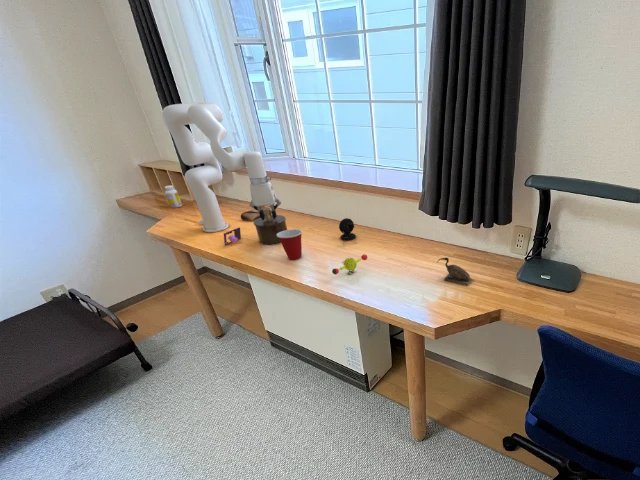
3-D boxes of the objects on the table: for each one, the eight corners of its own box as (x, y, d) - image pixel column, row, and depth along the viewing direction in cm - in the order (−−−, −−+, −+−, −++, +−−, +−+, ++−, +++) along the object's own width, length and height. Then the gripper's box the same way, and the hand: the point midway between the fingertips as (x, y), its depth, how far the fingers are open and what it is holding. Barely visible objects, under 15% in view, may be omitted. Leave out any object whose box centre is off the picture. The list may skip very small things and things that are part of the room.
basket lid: (250, 229, 169) (246, 215, 165) (258, 218, 181) (254, 205, 178) (283, 226, 170) (279, 213, 167) (288, 216, 183) (285, 203, 179)
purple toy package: (238, 226, 178) (222, 232, 172) (246, 231, 177) (230, 237, 171) (239, 237, 183) (223, 244, 176) (246, 242, 182) (231, 249, 175)
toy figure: (362, 263, 155) (360, 248, 152) (371, 266, 152) (370, 252, 149) (329, 279, 144) (326, 264, 140) (338, 283, 141) (336, 268, 137)
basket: (257, 246, 174) (251, 227, 169) (263, 235, 186) (258, 217, 180) (286, 243, 175) (281, 225, 170) (291, 233, 187) (286, 215, 182)
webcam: (345, 242, 175) (342, 222, 170) (337, 237, 180) (334, 218, 175) (358, 237, 179) (356, 218, 174) (351, 233, 184) (348, 214, 179)
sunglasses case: (252, 221, 202) (244, 210, 201) (246, 225, 206) (238, 215, 205) (275, 211, 216) (268, 201, 214) (269, 215, 220) (262, 206, 218)
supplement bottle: (181, 204, 235) (173, 184, 228) (183, 206, 231) (175, 186, 224) (170, 206, 232) (161, 186, 225) (171, 208, 227) (163, 188, 220)
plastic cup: (306, 250, 168) (300, 226, 162) (308, 259, 160) (303, 234, 153) (281, 254, 165) (275, 229, 159) (283, 264, 157) (276, 238, 150)
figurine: (434, 278, 143) (434, 258, 138) (439, 273, 146) (439, 253, 141) (467, 285, 137) (468, 265, 132) (472, 280, 140) (473, 260, 135)
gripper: (279, 177, 169) (288, 214, 179) (242, 179, 167) (253, 217, 177) (276, 181, 163) (285, 220, 172) (237, 183, 161) (249, 222, 171)
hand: (269, 218), depth 175 cm, fingers open, 4 cm apart
